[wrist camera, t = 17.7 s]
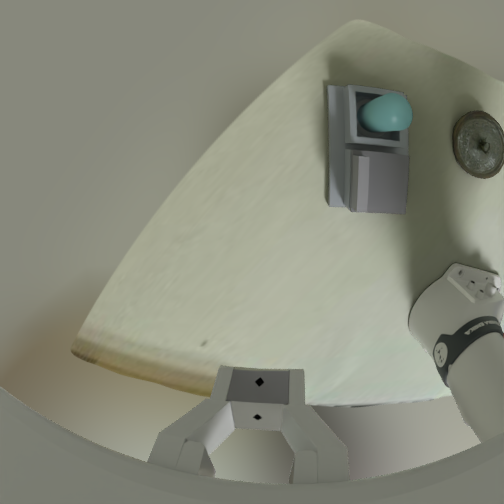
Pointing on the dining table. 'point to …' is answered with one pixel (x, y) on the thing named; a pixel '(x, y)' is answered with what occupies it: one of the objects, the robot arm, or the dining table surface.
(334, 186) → the housing
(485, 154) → the lid
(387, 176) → the slide lid
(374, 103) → the jaw peg
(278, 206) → the dining table surface
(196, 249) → the dining table surface
